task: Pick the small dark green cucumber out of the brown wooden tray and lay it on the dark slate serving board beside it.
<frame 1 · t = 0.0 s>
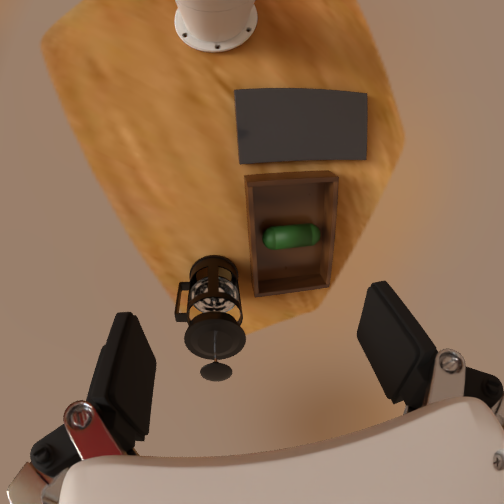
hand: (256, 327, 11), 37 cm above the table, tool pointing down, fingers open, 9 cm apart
brown wooden tray: (288, 230, 50), on the table
cucumber: (289, 231, 50), resting on brown wooden tray
board: (304, 123, 41), on the table
french press: (211, 275, 53), on the table
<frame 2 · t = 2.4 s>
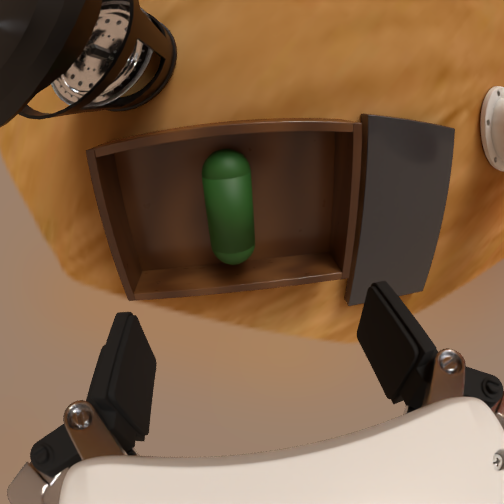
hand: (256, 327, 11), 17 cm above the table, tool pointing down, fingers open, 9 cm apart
brown wooden tray: (228, 199, 26), on the table
cucumber: (229, 201, 25), resting on brown wooden tray
board: (400, 215, 28), on the table
french press: (126, 57, 18), on the table
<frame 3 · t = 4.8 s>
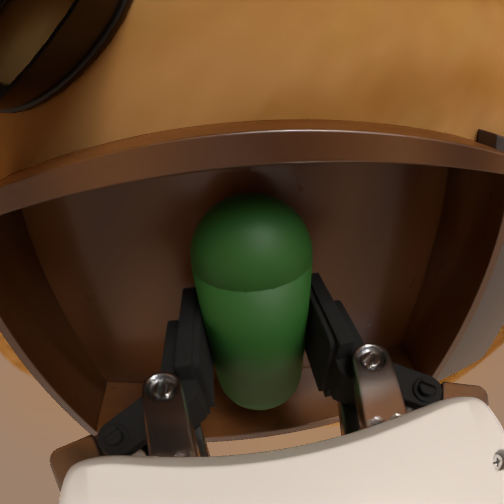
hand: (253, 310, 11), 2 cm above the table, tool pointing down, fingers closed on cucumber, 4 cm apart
brown wooden tray: (249, 286, 13), on the table
cucumber: (250, 293, 12), resting on brown wooden tray, touching gripper
board: (487, 278, 16), on the table
french press: (44, 6, 5), on the table
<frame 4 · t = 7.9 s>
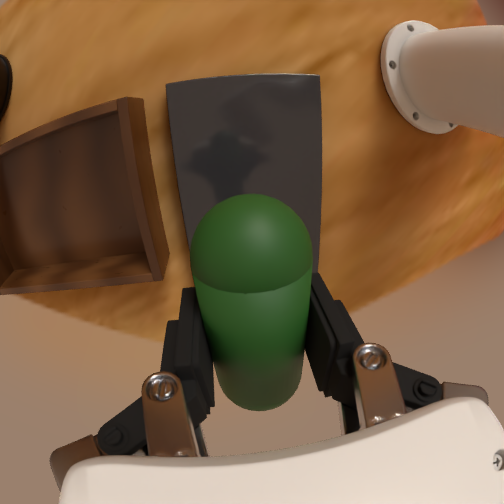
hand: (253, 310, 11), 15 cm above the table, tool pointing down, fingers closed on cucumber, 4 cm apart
brown wooden tray: (55, 201, 21), on the table
cucumber: (250, 294, 12), point 13 cm above the table, touching gripper
board: (251, 200, 24), on the table
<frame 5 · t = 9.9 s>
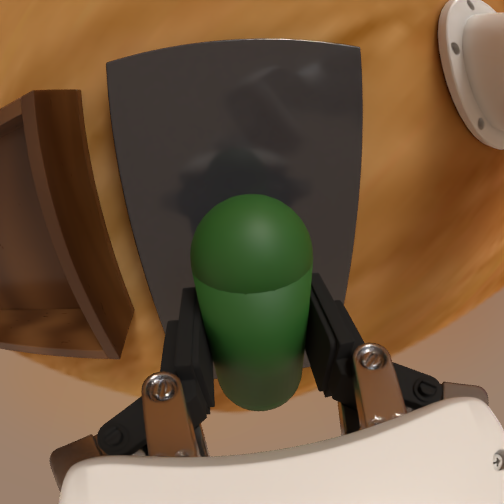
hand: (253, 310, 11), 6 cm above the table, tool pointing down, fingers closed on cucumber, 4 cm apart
cucumber: (250, 294, 12), point 4 cm above the table, touching gripper
board: (247, 242, 16), on the table
when the fingers open (3 cm above the table, at t = 11.1 s): cucumber stays where it is, resting on board.
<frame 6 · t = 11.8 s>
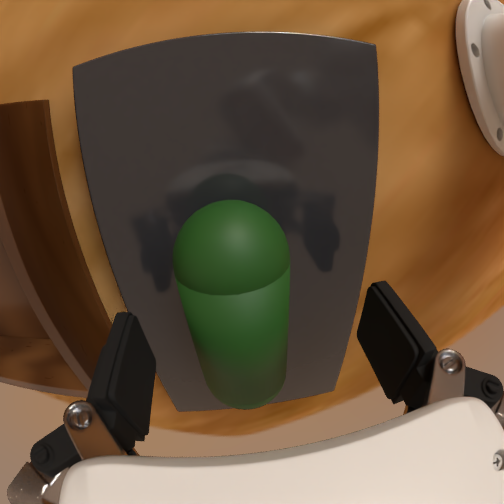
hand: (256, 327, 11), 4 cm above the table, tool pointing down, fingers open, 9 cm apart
cucumber: (242, 295, 13), point 2 cm above the table, tilted 9°, touching board
board: (242, 273, 14), on the table
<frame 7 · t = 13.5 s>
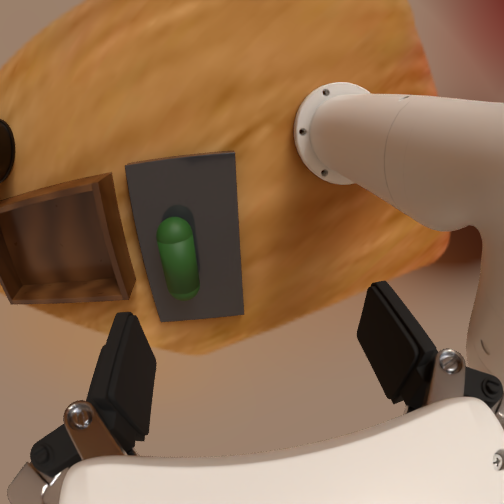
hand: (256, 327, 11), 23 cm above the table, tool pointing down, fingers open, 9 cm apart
brown wooden tray: (55, 239, 30), on the table
cucumber: (187, 252, 32), point 2 cm above the table, tilted 28°, touching board
board: (190, 244, 34), on the table
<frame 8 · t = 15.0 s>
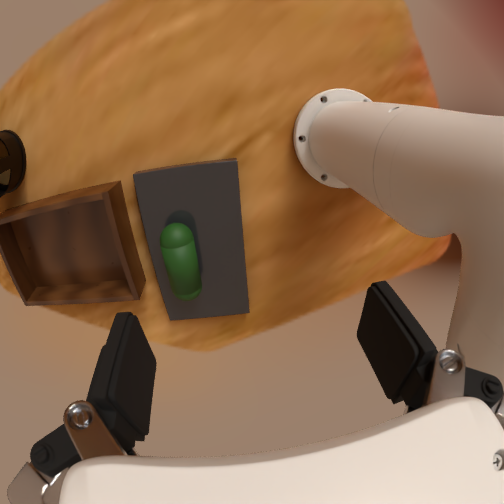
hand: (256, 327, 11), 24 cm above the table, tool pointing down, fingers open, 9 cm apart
brown wooden tray: (67, 243, 33), on the table
cucumber: (193, 256, 34), point 2 cm above the table, tilted 45°, touching board
board: (197, 247, 36), on the table
french press: (5, 157, 25), on the table
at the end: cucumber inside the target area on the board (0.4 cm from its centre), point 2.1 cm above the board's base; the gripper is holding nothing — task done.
